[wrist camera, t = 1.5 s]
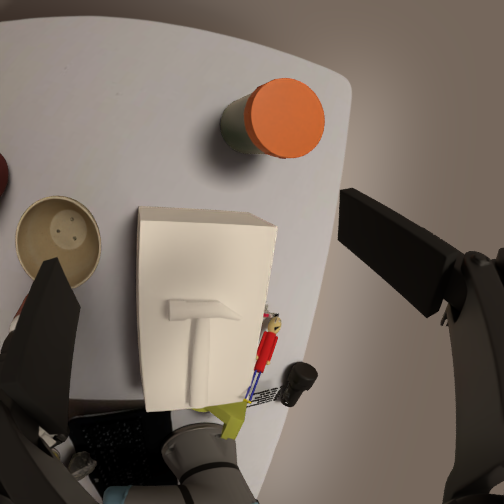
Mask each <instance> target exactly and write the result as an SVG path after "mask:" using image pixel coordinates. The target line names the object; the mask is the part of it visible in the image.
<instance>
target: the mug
mask: <svg viewBox="0 0 504 504" xmlns="http://www.w3.org/2000/svg"><path fill="white" fill-rule="evenodd" d="M7 182H8V166H7V163H6V161H5V159H4V157H3V156H2V155H1V154H0V197H1V195H2V194H3V192H4V191H5V188H6V186H7Z"/></svg>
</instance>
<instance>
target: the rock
mask: <svg viewBox="0 0 504 504" xmlns="http://www.w3.org/2000/svg"><path fill="white" fill-rule="evenodd" d="M96 466H97V464H96V461H95V460H93V459H92V458H91V457H90V453H88V452H86V451H83V452H78V453H77V454H74V455H72V459H71V461H70V463H69V466H68V468H67V470H68V471H69V472H70V473H71V474H72V476H73V477H74V478H75V479H76V480H77V481H79V480H81V479H83V478H84V477H85V476H87V475H88V474H90V473H91V472H92V471H93V470H94V469H95V467H96Z"/></svg>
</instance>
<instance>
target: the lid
mask: <svg viewBox="0 0 504 504" xmlns="http://www.w3.org/2000/svg"><path fill="white" fill-rule="evenodd" d="M247 100H248V101H247V103H246V106H245V110H244V114H243V115H244V123H245V128H246V131H247V134H248V136H249V138H250V139H251V141H252V142H253V144H254V145H255V146H256V147H257V148H258V149H260V150H261V151H262V152H264V153H265V154H268V155H270V156H273V157H279V158H282V159H286V158H297V157H301V156H304V155H306V154H307V153H309V152H310V151H312V150H313V149H314V148H315V147H316V145H317V144H318V143H319V141H320V139H321V137H322V134H323V131H324V124H325V119H324V111H323V108H322V105H321V103H320V101H319V99H318V97H317V96H316V94H315V93H314V92H313V91H312V90H311V89H310V88H309V87H308V86H307V85H305V84H304V83H302V82H300V81H297V80H295V79H290V78H280V79H274V80H272V81H270V82H268V83H266V84H263V85H261V86H259V87H257V89H256V90H255V91H254V92H253V93H252V94H251V95H250V97H249V98H248V99H247Z"/></svg>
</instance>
